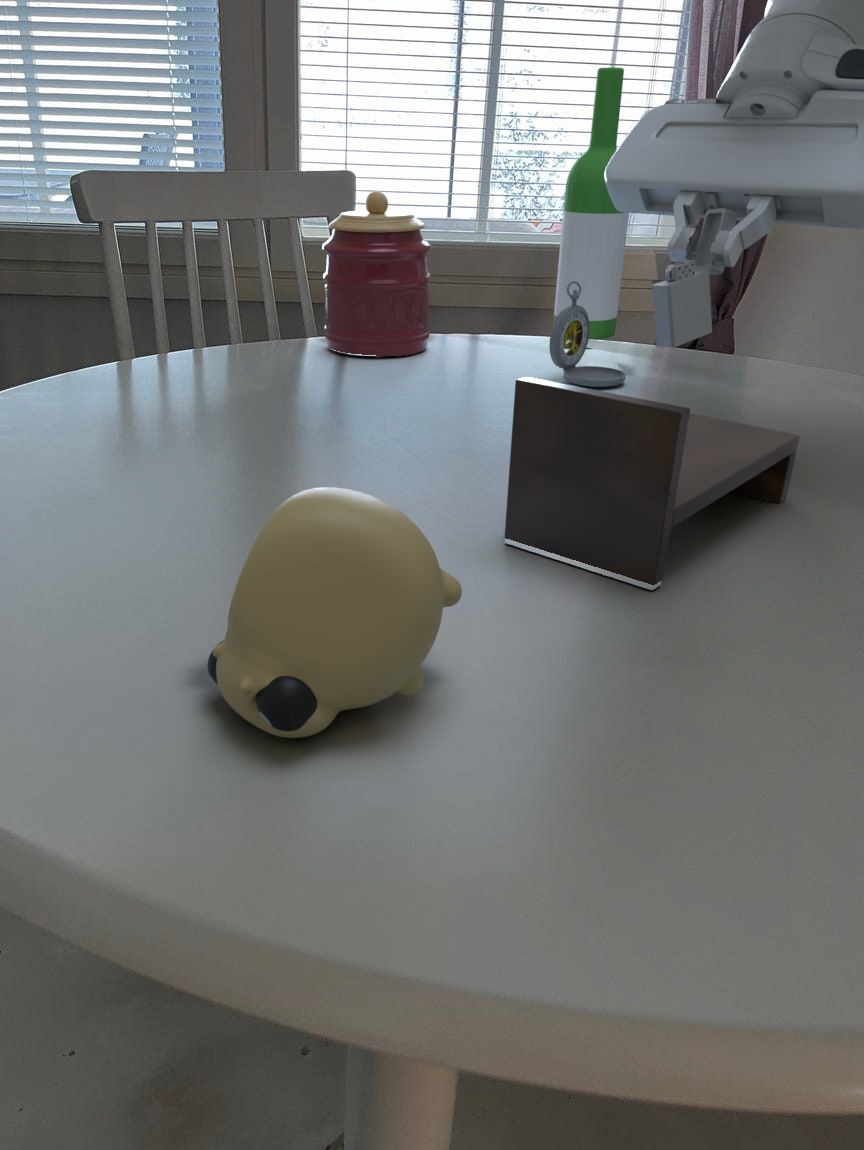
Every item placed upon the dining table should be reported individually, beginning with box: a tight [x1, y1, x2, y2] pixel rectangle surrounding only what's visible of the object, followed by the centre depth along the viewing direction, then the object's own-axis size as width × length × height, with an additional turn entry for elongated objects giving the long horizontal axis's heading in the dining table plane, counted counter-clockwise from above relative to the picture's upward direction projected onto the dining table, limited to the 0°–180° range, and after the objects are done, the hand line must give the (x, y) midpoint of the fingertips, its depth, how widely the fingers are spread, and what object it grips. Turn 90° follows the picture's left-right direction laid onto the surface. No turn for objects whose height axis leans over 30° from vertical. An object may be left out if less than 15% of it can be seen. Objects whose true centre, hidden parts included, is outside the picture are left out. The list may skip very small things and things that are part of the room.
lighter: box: [651, 208, 738, 349], centre depth 67 cm, size 7×2×8 cm, turn 122°
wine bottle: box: [552, 67, 630, 350], centre depth 111 cm, size 8×8×30 cm
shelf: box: [504, 376, 801, 585], centre depth 64 cm, size 11×21×11 cm, turn 138°
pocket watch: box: [549, 281, 627, 388], centre depth 100 cm, size 8×8×10 cm
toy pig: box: [207, 486, 463, 739], centre depth 44 cm, size 10×12×11 cm
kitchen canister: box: [321, 190, 432, 357], centre depth 112 cm, size 13×13×18 cm
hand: (699, 258), depth 66 cm, fingers closed on lighter, 2 cm apart
